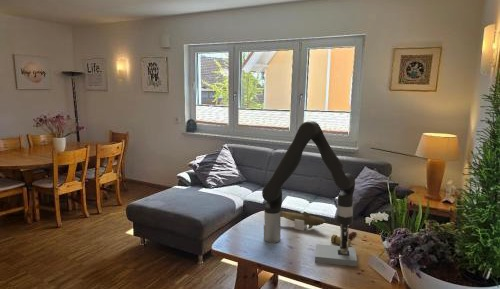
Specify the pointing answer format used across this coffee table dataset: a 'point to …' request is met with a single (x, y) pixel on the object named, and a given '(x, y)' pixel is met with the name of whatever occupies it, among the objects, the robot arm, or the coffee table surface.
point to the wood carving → (302, 219)
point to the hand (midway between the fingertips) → (343, 245)
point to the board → (335, 255)
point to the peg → (343, 250)
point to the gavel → (337, 239)
